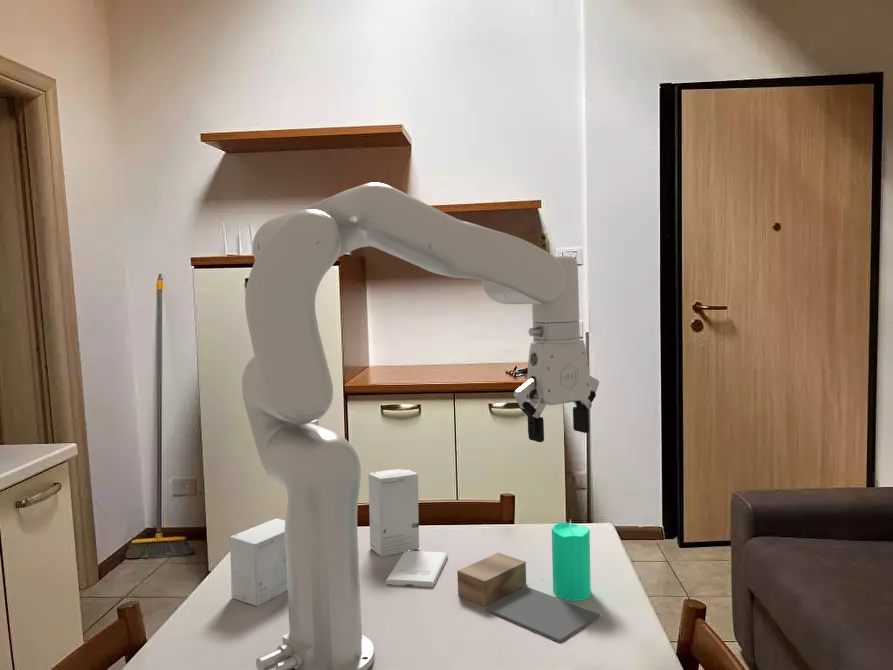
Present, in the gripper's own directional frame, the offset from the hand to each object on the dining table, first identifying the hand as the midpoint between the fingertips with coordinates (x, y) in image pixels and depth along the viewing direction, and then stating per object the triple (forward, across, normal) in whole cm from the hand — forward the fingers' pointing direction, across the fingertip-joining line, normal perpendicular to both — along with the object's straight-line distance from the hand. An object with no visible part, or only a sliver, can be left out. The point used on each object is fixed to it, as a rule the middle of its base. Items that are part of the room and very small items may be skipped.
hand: (559, 436), depth 113 cm
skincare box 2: (+25, -16, +30) cm, 42 cm away
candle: (+25, -2, -4) cm, 25 cm away
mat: (+25, -10, -7) cm, 27 cm away
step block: (+25, -12, +4) cm, 28 cm away
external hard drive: (+25, -18, +18) cm, 36 cm away
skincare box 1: (+24, -42, +26) cm, 55 cm away
